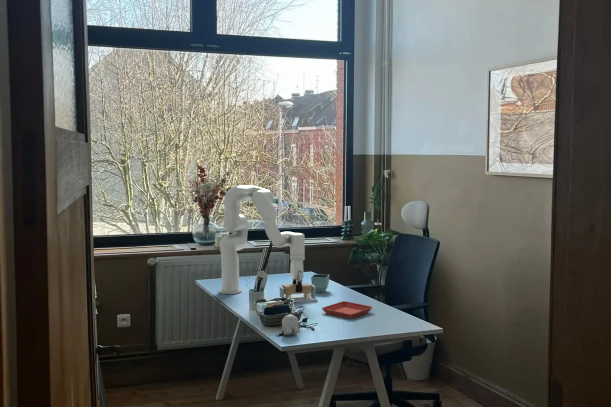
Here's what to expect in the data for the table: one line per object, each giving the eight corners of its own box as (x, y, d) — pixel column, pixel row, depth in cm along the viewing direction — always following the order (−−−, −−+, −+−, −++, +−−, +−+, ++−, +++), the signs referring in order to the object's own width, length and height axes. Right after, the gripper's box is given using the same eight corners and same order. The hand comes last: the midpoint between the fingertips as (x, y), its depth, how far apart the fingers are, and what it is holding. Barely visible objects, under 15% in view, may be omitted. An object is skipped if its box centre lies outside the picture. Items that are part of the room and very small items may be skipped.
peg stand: (278, 297, 340) (277, 284, 339) (310, 295, 345) (310, 283, 344) (283, 303, 327) (283, 290, 327) (317, 301, 332) (317, 288, 332)
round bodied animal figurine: (293, 336, 279) (291, 316, 282) (302, 333, 269) (300, 312, 271) (278, 337, 277) (276, 317, 279) (285, 334, 266) (283, 313, 269)
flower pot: (310, 293, 352) (310, 276, 351) (314, 289, 360) (314, 273, 360) (326, 293, 350) (326, 277, 349) (329, 290, 358) (329, 274, 357)
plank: (282, 292, 336) (282, 284, 336) (307, 290, 341) (307, 283, 340) (285, 294, 331) (285, 286, 330) (310, 292, 335) (311, 285, 335)
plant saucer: (350, 320, 296) (350, 313, 296) (320, 314, 308) (320, 307, 308) (373, 313, 310) (373, 306, 309) (343, 307, 321) (343, 300, 321)
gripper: (286, 254, 341) (286, 287, 343) (294, 259, 325) (294, 294, 326) (299, 253, 343) (299, 286, 345) (308, 259, 327) (308, 293, 328)
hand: (297, 290), depth 336 cm, fingers closed on plank, 6 cm apart
